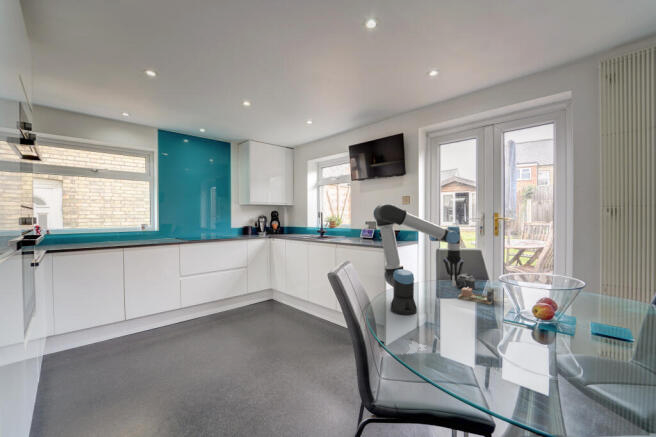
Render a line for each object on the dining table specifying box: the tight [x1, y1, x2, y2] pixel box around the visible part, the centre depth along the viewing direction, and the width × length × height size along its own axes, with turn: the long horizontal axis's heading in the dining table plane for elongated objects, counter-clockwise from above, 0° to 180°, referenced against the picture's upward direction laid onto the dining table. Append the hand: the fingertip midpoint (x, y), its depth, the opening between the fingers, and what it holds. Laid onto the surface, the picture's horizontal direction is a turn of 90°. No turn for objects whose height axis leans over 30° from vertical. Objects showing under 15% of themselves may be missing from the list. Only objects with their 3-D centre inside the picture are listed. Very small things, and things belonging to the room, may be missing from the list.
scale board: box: [457, 287, 495, 305], centre depth 166 cm, size 18×11×7 cm, turn 50°
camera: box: [455, 273, 476, 290], centre depth 193 cm, size 16×10×10 cm, turn 24°
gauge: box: [460, 287, 473, 297], centre depth 169 cm, size 5×7×5 cm
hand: (454, 285), depth 174 cm, fingers closed
